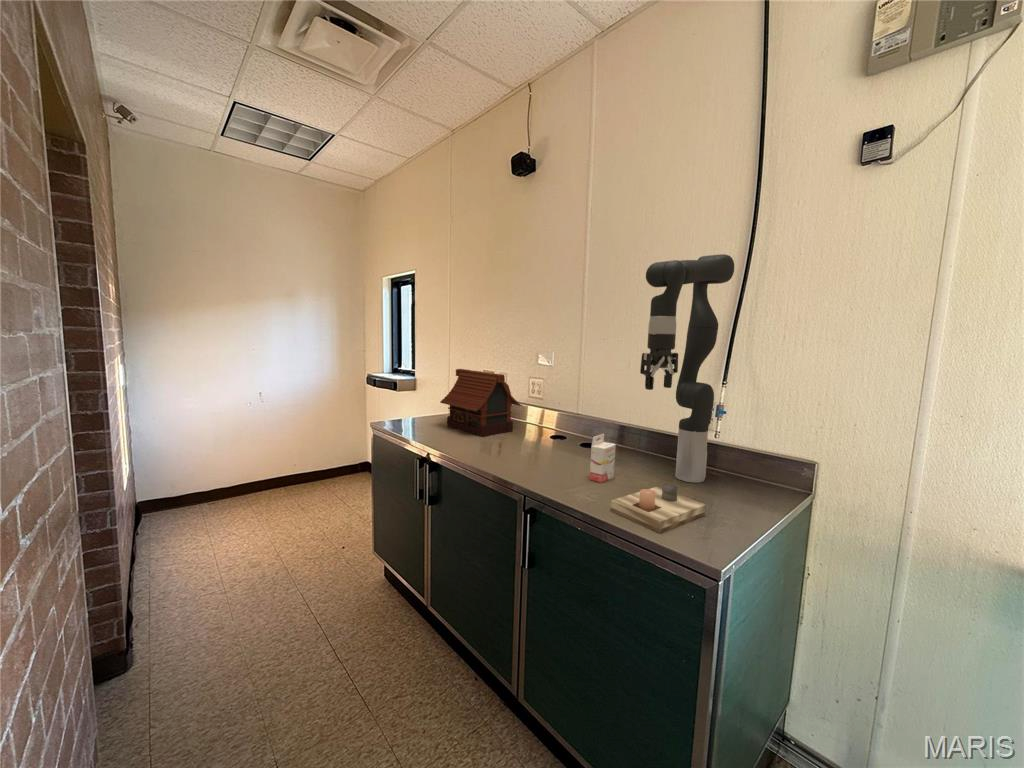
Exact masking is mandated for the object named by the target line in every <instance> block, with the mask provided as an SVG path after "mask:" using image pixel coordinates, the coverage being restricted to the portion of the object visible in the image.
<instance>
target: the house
mask: <svg viewBox="0 0 1024 768" xmlns="http://www.w3.org/2000/svg"><path fill="white" fill-rule="evenodd" d="M455 377H457V379H456V381H455V383H454V384H453V386H452V388H451V389H450V391H449V392H448V394H447V395H446V396H444V398H443V399H441V400H440V401H439V403H440V404H443V405H449V407H447V409H448V410H449V415H448V416H447V417H446V419H447V421H446V422H447V423H446V426H447V427H448V428H451V429H454V430H456V431H457V430H458V431H461V432H464V433H467V434H471V435H474V436H477V437H480V438H485V437H490V436H495V435H501V434H505V433H506V434H507V433H508V434H509V433H512V432H514V430H513V428H514V421H513V420H511V415H512V414H513V411H511V409H512V407H513V405H515V406H519V407H520V406H521V403H520V402H518V400H516V399H515V398H514V397H513V395H512V392H511V389H510V386H509V384H508V383H507V382H505V381H506V380H505V378H506V376H505V374H502V373H501V374H499V373H493V372H486V371H484V372H483V371H478V370H473V369H472V370H471V369H464V368H455Z"/></svg>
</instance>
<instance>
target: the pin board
mask: <svg viewBox="0 0 1024 768" xmlns="http://www.w3.org/2000/svg"><path fill="white" fill-rule="evenodd" d="M649 489H650V490H653V491H655V492H656V495H655V510H654V511H651V512H647V511H644V510H642V509H640V508H639V498H640V491H639V492H634V493H630V494H627V495H624V496H622V497H618V498H615V499H611V501H610V512H612V513H614V514H616V515H618V516H621V517H623V518H626V519H627V520H629V521H632V522H634V523H636V524H639V525H640V526H643V527H645V528H646V529H648V530H649V529H650V530H652V531H654V532H656V533H657V534H662V533H664V532H667V531H669V530H672V529H674V528H676V527H680V526H682V525H684V524H686V523H689V522H691V521H694V520H697V519H699V518H701V517H704V516H706V508H707V504H705V503H702V502H700V501H697V500H694V499H692V498H688V497H686V496H683V495H681V494H679V493H678V489H679V485H678V484H676V483H674V482H663V483H662V488H661V487H658V486H655V487H651V488H649Z"/></svg>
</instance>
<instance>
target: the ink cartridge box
mask: <svg viewBox="0 0 1024 768" xmlns="http://www.w3.org/2000/svg"><path fill="white" fill-rule="evenodd" d="M591 441H592V442H591V449H590V468H589V480H590V481H593V482H597V483H601V484H603V483H604V482H607V481H609V480H611V479H613V478H614V474H615V462H616V461H615V457H616V445H617V444H616V443H612V442H605V433H602V434H598V435H595V436H593V437H592V440H591Z"/></svg>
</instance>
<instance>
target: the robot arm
mask: <svg viewBox="0 0 1024 768" xmlns="http://www.w3.org/2000/svg"><path fill="white" fill-rule="evenodd" d="M734 261H735V260H734V259H733V257H732V256H731V255H728V254H712V255H711V254H710V255H703V256H700V257H699V258H698V259H683V260H677V259H676V260H675V259H674V260H673V259H672V260H666V261H659V262H658V261H657V262H656V261H655V262H654V263H652V264H650V265H649V267H647V269H646V270H645V271H646V272H645V280H646V283H647V284H649V286H651V287H653V288H665V289H664V292H662V293H661V294H659V295H655V296H653V297H652V298H651V300H650V311H649V312H650V314H649V321H648V328H647V329H648V331H647V333H648V334H647V349H649V352H642V354H641V360H640V369H639V370H640V371H639V372H640V374H641V375H644V376H645V382H644V387H645V390H650V391H651V390H653V389H654V382H655V381H654V380H655V374H656V372H657V371H659V369H660V370H661V369H662V370H663V373H664V375H663V388H664V389H665V388H666V389H672V384H673V376H674V375H675V374H677V373H678V372H679V353H678V352H672V351H673V350H675V348H676V337H677V336H676V334H677V317H676V316H677V309H678V308H677V306H678V300H679V297H680V294H681V291H682V287H683V285H689V284H693V285H692V300H691V309H690V314H689V315H690V317H689V321H688V325H687V326H688V327H687V332H686V341H685V348H684V354H683V361H682V364H681V365H682V366H681V369H680V373H679V377H678V381H677V385H676V390H675V400H676V403H677V404H678V406H679V407H681V408H685V409H690V410H691V414H690V416H689V417H685V418H681V419H680V420H679V422H678V433H677V449H676V462H675V463H676V465H675V474H674V475H675V478H676V479H678V480H680V481H682V482H687V483H694V484H695V483H697V484H699V483H703V482H705V479H706V474H707V461H708V460H707V459H708V438H709V437H708V435H709V426H710V424H711V422H712V415H713V410H714V409H713V408H714V404H715V403H714V402H715V401H714V400H715V392H714V388H713V387H712V385H710V384H709V383H705V382H700V381H699V382H697V379H698V374H699V371H700V368H701V367H702V364H703V363H704V362H705V360H706V359H707V358H708V357H709V355H710V353H712V351H713V349H714V348H715V346H716V342H717V338H718V332H719V331H718V330H719V322H718V318H717V316H716V314H715V311H714V310H713V308H712V306H711V305H710V302H709V298H708V286H709V285H716V284H717V285H718V284H724V283H728V282H729V281H730V280H731V279H732V277H733V276H734V273H735V262H734ZM645 367H646V368H645Z"/></svg>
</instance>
